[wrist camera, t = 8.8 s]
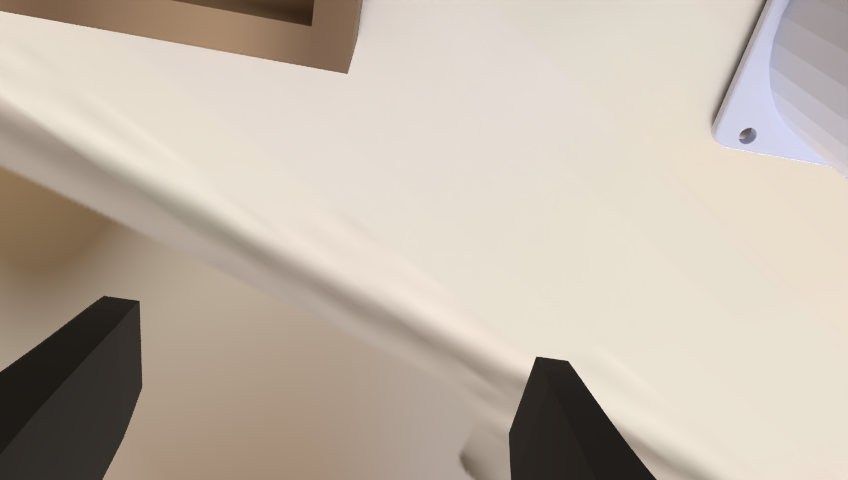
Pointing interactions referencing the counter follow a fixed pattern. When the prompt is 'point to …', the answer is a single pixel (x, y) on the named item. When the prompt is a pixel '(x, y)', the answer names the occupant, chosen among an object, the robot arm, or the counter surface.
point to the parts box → (222, 25)
